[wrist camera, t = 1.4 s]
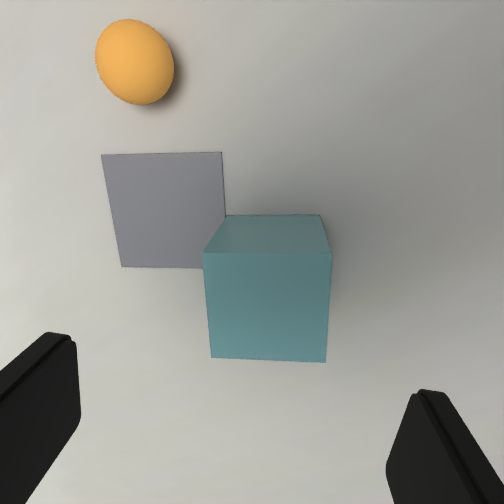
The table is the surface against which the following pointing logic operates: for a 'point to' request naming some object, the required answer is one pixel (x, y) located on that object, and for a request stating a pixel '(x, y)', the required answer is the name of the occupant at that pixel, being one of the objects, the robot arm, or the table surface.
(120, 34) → the ball
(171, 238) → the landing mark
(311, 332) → the teal toy cube
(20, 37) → the table surface
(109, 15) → the table surface
